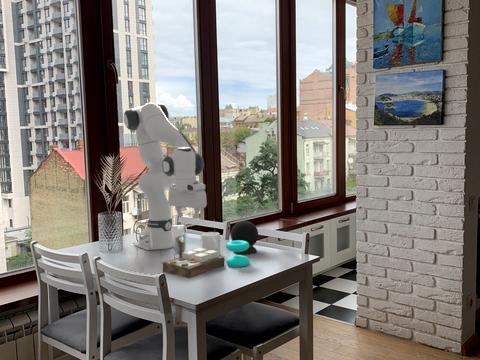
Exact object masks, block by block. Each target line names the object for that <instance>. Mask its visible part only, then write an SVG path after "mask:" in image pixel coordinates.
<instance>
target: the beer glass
mask: <svg viewBox="0 0 480 360" xmlns="http://www.w3.org/2000/svg"><path fill="white" fill-rule="evenodd" d="M172 241H173V246H174V247H173V249H174V252H173V259H176V258H179V257H182V253H183V252H186V251H187V243H188V229H187V226H186V225H183V224H177V225H172Z"/></svg>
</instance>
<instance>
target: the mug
mask: <svg viewBox="0 0 480 360" xmlns="http://www.w3.org/2000/svg"><path fill="white" fill-rule="evenodd" d="M220 235H221V233H219V232H217V231H216V232H215V231H208V232H204V233H202V234H201V242H202V243H201V248H203V249H206V251H209V250H214V251H218V256H221V238H220V237H221V236H220Z"/></svg>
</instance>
